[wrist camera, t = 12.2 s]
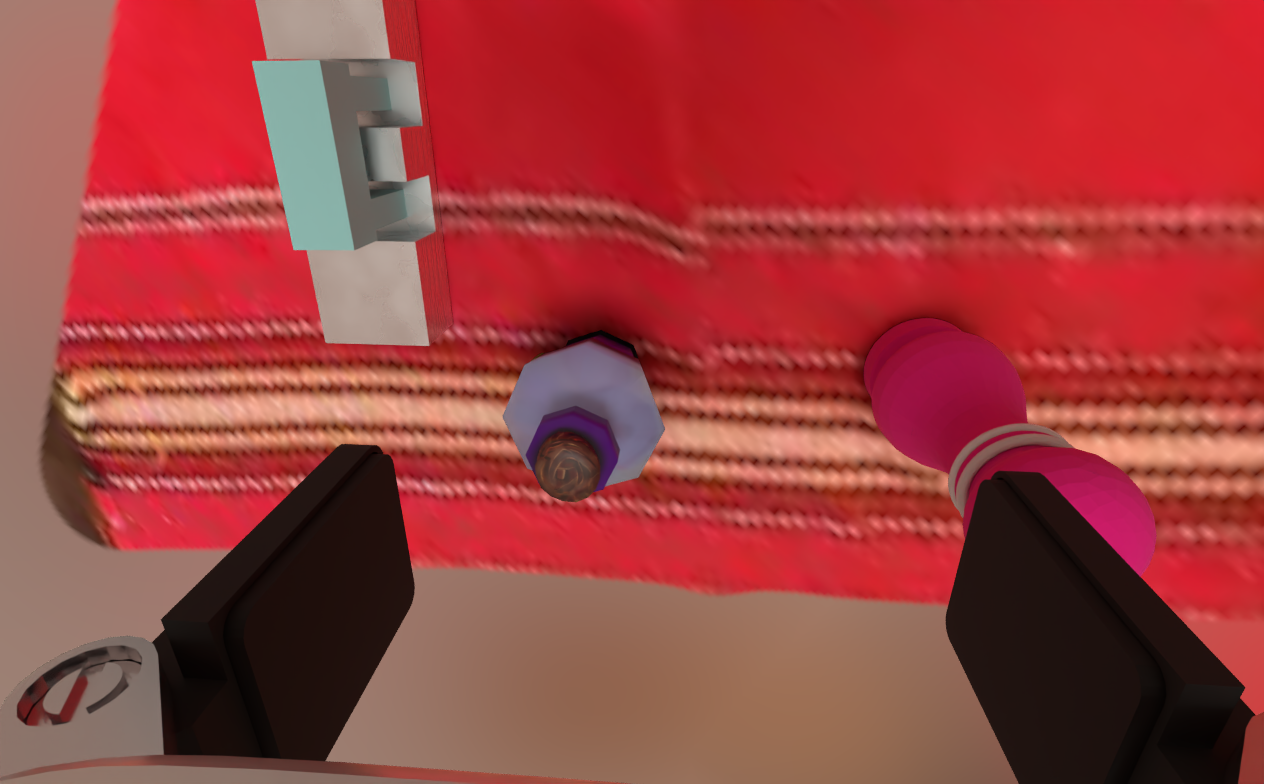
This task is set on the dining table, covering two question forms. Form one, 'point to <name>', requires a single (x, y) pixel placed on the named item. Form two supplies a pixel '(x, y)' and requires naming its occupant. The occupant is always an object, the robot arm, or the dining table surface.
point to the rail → (376, 171)
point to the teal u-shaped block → (325, 152)
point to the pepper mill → (991, 430)
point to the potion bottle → (584, 416)
